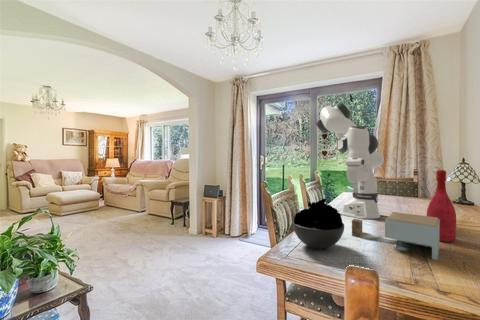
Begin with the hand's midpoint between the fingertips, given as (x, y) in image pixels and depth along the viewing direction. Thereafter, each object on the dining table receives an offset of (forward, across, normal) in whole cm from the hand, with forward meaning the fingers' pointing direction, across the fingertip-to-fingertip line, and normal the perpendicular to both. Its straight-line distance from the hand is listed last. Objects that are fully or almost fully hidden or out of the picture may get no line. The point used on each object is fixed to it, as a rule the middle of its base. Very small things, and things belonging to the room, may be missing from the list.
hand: (359, 190), depth 110 cm
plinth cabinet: (+21, +3, +20) cm, 29 cm away
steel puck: (+21, +7, +17) cm, 28 cm away
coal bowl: (+21, +26, -9) cm, 34 cm away
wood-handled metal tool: (+21, +1, +6) cm, 21 cm away
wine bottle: (+21, -17, +28) cm, 39 cm away
